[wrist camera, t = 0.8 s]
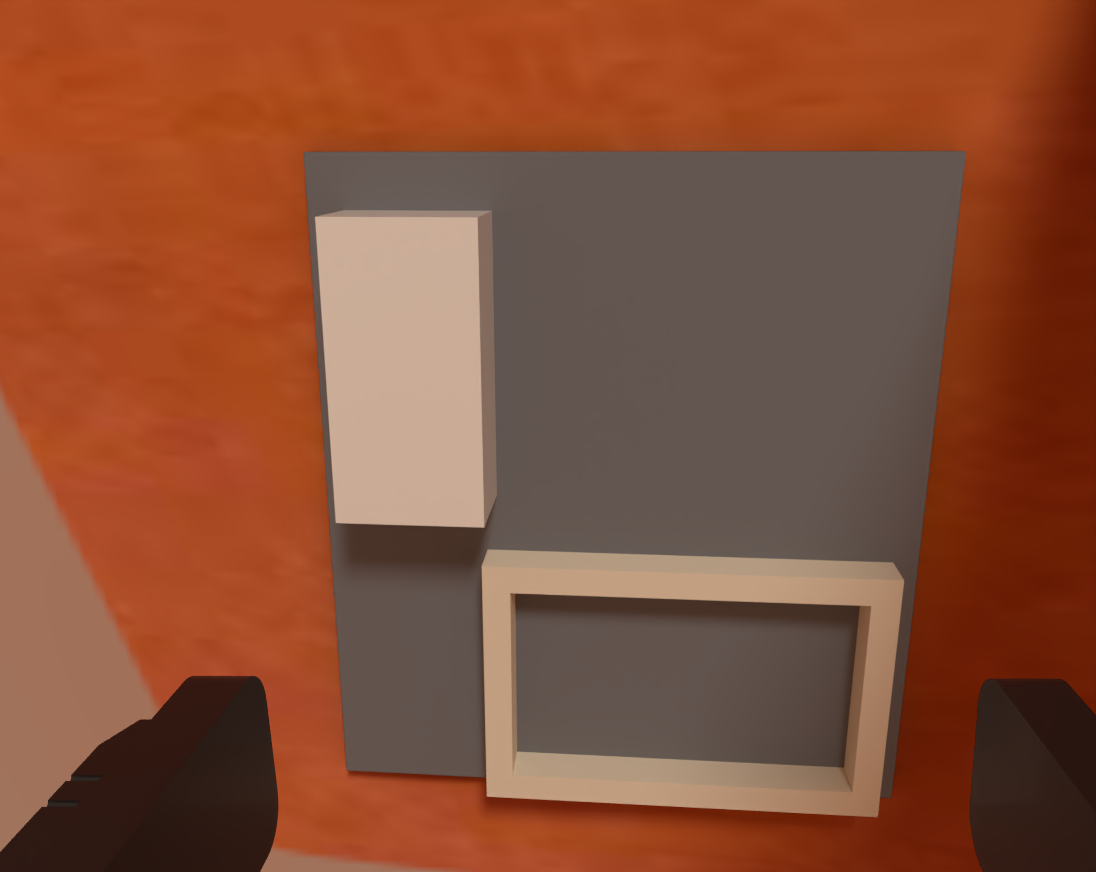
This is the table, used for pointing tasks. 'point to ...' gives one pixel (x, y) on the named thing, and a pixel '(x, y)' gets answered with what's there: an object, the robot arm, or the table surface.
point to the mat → (665, 479)
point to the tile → (409, 365)
